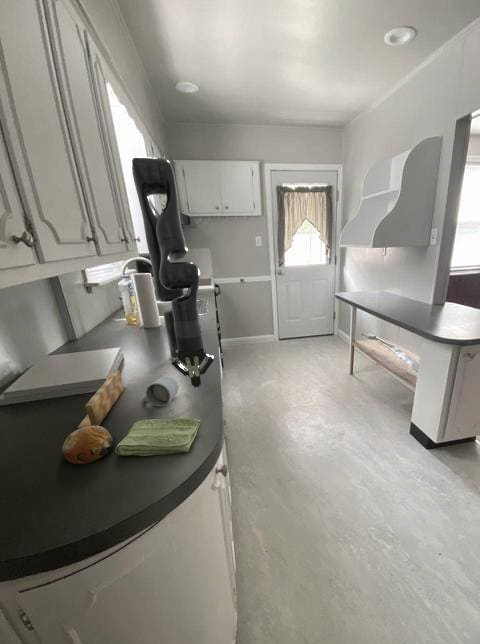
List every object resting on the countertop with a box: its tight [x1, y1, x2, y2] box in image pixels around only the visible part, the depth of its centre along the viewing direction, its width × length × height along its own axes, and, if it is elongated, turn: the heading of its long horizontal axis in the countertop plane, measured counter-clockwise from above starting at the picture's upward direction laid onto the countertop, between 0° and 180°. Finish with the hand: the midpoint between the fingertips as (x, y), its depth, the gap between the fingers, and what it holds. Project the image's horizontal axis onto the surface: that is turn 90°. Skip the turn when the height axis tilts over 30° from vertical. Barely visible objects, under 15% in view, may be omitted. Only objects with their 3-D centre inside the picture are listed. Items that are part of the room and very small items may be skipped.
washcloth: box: [115, 417, 202, 457], centre depth 76 cm, size 13×18×3 cm
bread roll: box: [61, 425, 114, 465], centre depth 72 cm, size 10×10×8 cm
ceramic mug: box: [142, 375, 180, 407], centre depth 95 cm, size 11×8×8 cm
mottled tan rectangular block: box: [77, 369, 124, 430], centre depth 91 cm, size 24×5×7 cm, turn 11°
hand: (196, 386), depth 96 cm, fingers closed
